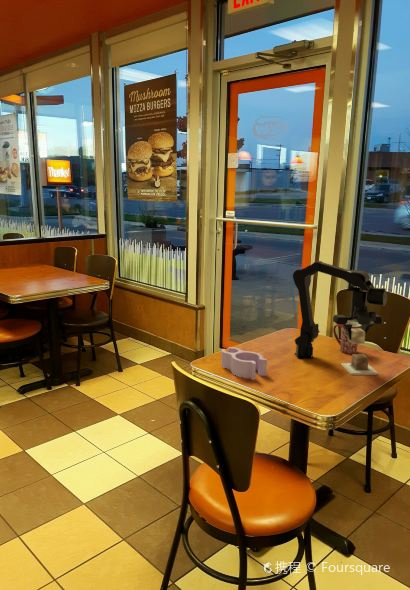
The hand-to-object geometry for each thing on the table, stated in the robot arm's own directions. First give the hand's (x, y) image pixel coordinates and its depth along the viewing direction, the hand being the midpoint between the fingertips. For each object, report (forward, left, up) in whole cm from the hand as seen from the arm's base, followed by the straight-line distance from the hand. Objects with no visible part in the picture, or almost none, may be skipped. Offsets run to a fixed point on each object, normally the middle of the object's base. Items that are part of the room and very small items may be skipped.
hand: (356, 339), depth 185 cm
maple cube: (0, 0, -1) cm, 1 cm away
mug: (+5, +23, -13) cm, 27 cm away
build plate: (+2, -1, -13) cm, 13 cm away
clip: (-47, -2, -13) cm, 49 cm away
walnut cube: (+2, -1, -12) cm, 12 cm away
